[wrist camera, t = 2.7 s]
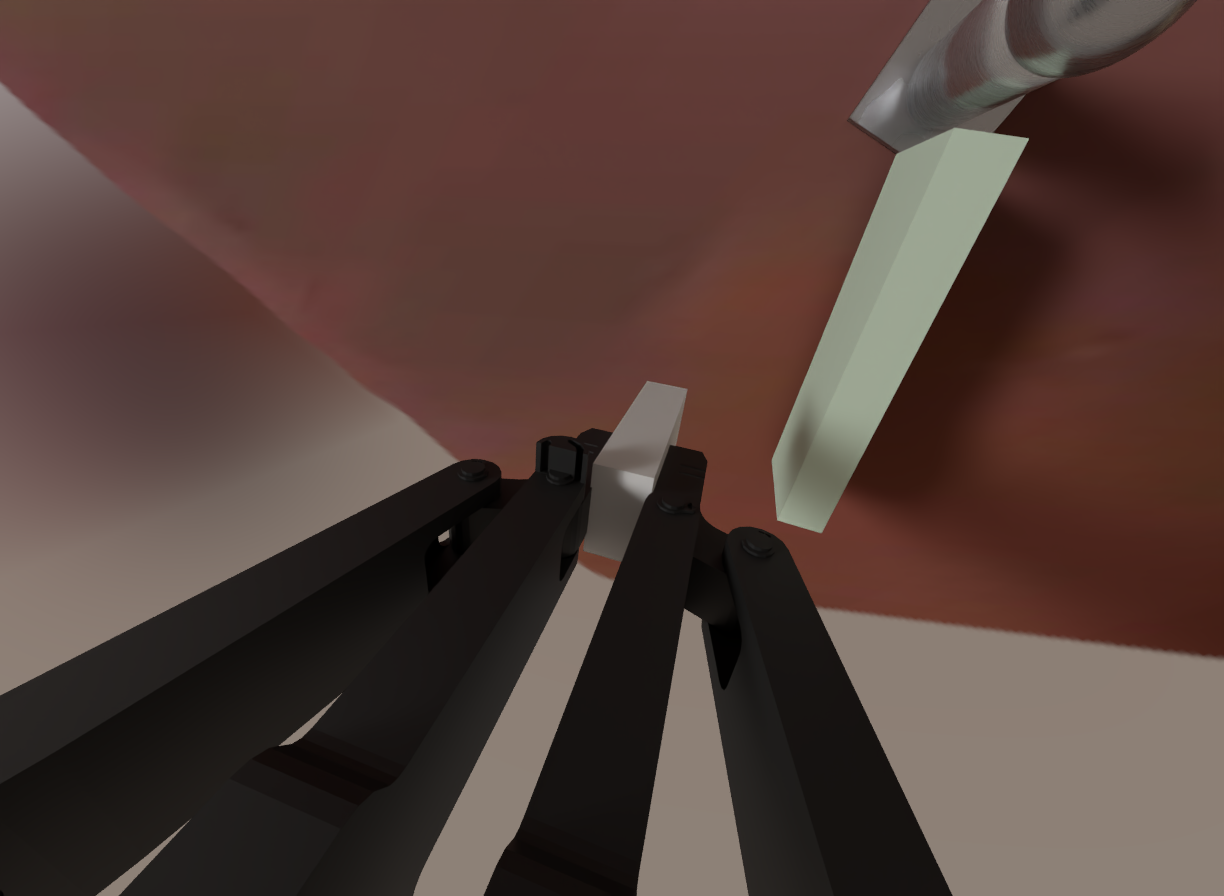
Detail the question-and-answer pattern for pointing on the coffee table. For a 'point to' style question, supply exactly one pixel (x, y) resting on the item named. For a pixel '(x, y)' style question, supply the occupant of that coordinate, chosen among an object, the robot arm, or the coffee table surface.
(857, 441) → the gate
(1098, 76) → the coffee table surface
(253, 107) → the coffee table surface
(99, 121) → the coffee table surface
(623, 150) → the coffee table surface
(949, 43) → the hinge post
